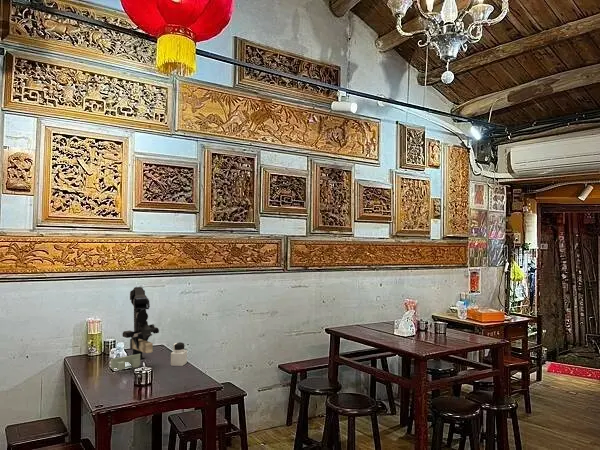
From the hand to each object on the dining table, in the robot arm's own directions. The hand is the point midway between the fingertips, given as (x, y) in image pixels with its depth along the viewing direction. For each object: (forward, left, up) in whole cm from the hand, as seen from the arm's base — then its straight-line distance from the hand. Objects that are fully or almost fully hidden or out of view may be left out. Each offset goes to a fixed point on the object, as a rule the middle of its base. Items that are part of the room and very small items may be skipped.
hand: (141, 347), depth 265 cm
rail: (+1, 0, -1) cm, 1 cm away
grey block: (-9, -4, -12) cm, 15 cm away
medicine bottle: (+5, +20, -12) cm, 24 cm away
